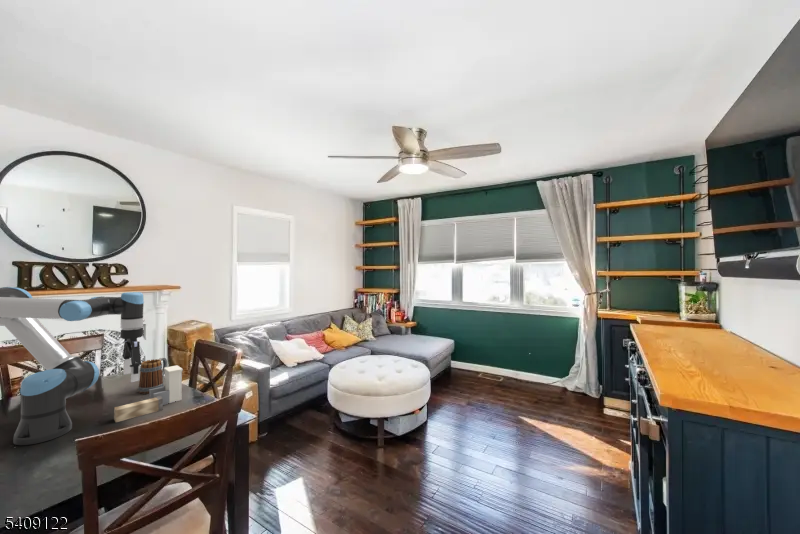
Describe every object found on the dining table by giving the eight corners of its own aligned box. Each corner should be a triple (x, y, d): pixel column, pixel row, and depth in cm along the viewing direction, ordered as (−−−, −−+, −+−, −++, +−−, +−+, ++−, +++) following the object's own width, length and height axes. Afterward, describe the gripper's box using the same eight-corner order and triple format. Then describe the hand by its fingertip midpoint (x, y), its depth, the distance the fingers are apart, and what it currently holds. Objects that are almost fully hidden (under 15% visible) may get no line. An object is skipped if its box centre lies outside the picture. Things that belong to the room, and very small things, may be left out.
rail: (115, 422, 135) (115, 409, 135) (114, 419, 138) (114, 406, 138) (162, 409, 147) (162, 398, 147) (160, 407, 150) (160, 395, 150)
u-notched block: (153, 407, 150) (154, 374, 149) (149, 402, 155) (149, 370, 155) (182, 399, 158) (182, 368, 158) (177, 395, 164) (177, 365, 164)
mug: (153, 394, 164) (153, 364, 164) (132, 394, 164) (132, 364, 164) (175, 383, 180) (175, 356, 180) (156, 382, 180) (156, 355, 180)
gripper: (150, 331, 136) (149, 382, 136) (135, 323, 152) (135, 369, 152) (127, 333, 130) (126, 387, 130) (114, 325, 146) (113, 372, 146)
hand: (131, 377), depth 141 cm, fingers open, 13 cm apart
